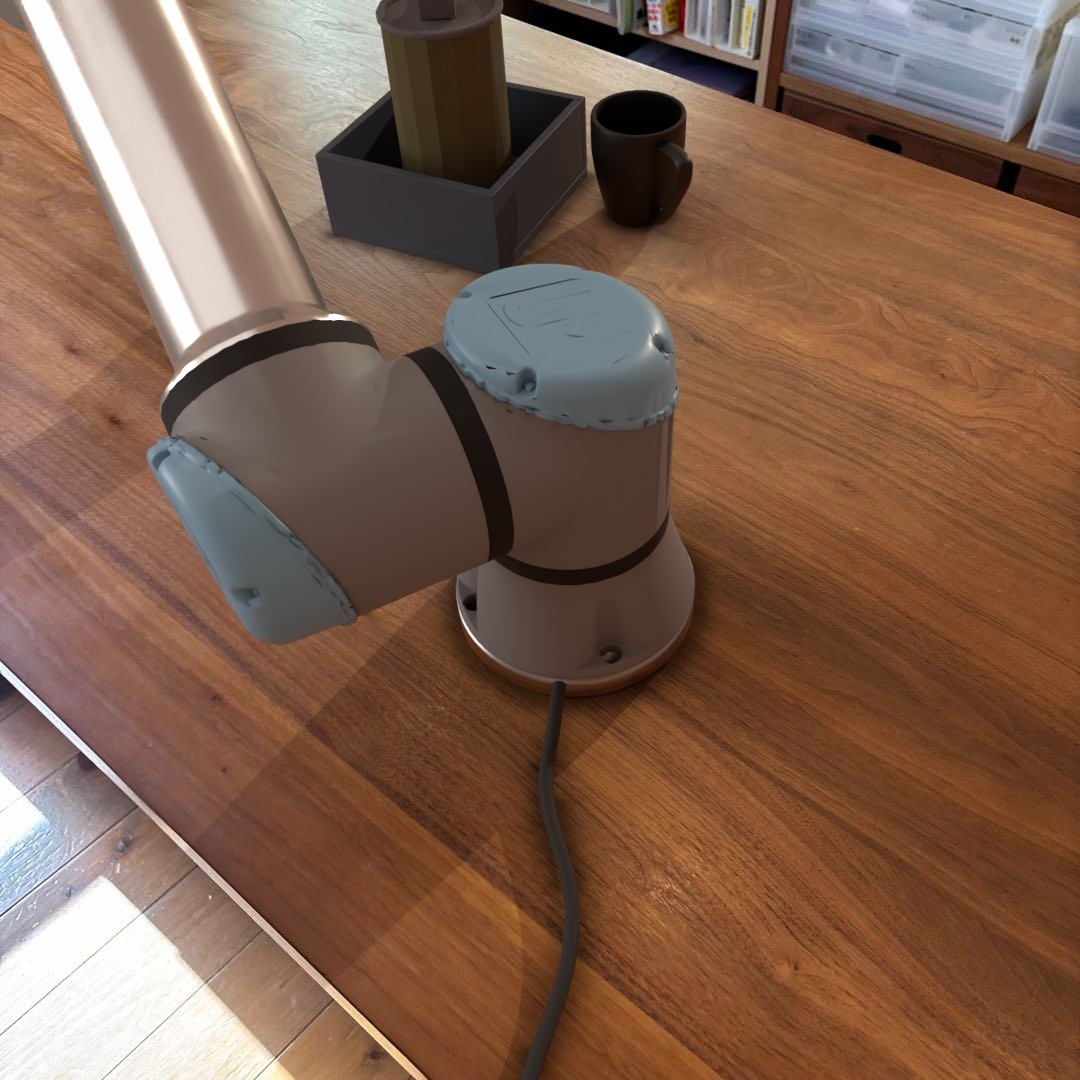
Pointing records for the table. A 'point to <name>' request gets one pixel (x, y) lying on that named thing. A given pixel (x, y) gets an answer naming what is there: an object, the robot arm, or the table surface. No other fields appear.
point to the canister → (448, 87)
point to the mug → (640, 156)
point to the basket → (456, 185)
